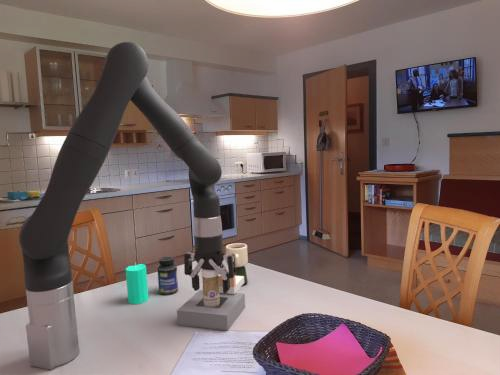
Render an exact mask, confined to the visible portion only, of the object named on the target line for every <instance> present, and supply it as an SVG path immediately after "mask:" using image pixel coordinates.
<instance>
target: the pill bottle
mask: <svg viewBox="0 0 500 375" xmlns="http://www.w3.org/2000/svg"><path fill="white" fill-rule="evenodd" d="M158 263H159V266H158V267H157V280H158V292H159V294H160V295H163V296H169V295H174V294H177V292H178V291H179V280H178V267H177V265H176V264H175V258H174V257H173V256H162V257H160V258H159V260H158Z"/></svg>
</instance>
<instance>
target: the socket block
mask: <svg viewBox="0 0 500 375" xmlns="http://www.w3.org/2000/svg"><path fill="white" fill-rule="evenodd" d="M245 298H246V296H245V293H239V292H236V293H235V294H228V293H219V299H220V308H211V307H204V301H203V289H198V290H197V291H196V292H195V294H194V295H192V296H191V297H190V298H189V299H188V300H186V302H184V303H183V304H182V305H181V306H180V307H179V308H178V309H176V317H177V326H183V327H194V328H202V329H210V330H219V331H229V329H230V328H231V327H232V326H233V324H234V323H235V322H236V320H238V318H239V316H240V315H241V314H242V312H243V311H244V310H245V308H246V299H245Z"/></svg>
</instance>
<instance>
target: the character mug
mask: <svg viewBox="0 0 500 375" xmlns="http://www.w3.org/2000/svg"><path fill="white" fill-rule="evenodd" d="M231 254H234V255H235V264H236V275H235V276H244V284H246V283H248V275H247V270H246V266H247V265H248V264H249V257H248V256H249V255H248V244H246V243H241V242H237V243H236V242H235V243H231V244H230V243H229V244H227V245H226V246H225V255H231ZM226 265H227V266H228V263H226Z"/></svg>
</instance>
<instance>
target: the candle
mask: <svg viewBox="0 0 500 375" xmlns="http://www.w3.org/2000/svg"><path fill="white" fill-rule="evenodd" d="M134 263H135V264H134V265H128V267H126V268H125V280H126V291H127V301H128V303H129V304H130V305H139V304H140V305H141V304H143V303H146V302H148V300H149V290H148V289H149V288H148V278H147V265H145V264H143V263H140V264H137V262H134Z"/></svg>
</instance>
